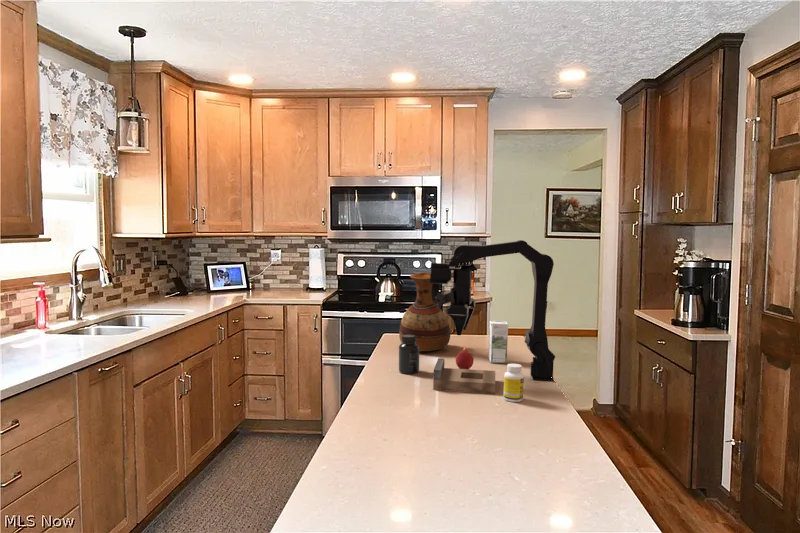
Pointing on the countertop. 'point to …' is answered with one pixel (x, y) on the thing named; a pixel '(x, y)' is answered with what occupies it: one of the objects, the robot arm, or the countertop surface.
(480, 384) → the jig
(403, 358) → the supplement bottle
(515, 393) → the supplement bottle
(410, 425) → the countertop surface
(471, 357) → the onion
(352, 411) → the countertop surface
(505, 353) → the syrup box
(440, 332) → the brown ceramic vase
